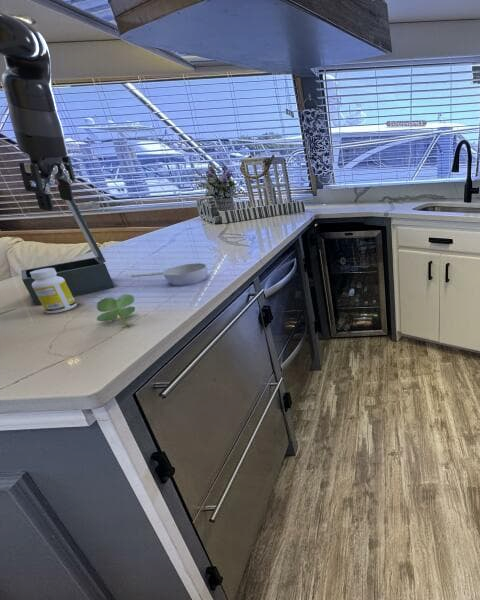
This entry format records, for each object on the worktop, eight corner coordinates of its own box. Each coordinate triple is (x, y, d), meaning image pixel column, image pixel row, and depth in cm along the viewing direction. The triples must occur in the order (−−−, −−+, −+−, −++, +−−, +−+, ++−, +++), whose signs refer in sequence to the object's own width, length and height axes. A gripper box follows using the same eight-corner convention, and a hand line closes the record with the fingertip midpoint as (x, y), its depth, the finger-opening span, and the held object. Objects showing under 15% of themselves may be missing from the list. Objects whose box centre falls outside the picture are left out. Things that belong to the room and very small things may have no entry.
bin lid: (69, 201, 80) (97, 196, 84) (64, 199, 88) (90, 195, 92) (102, 262, 87) (127, 256, 91) (94, 255, 95) (117, 250, 99)
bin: (35, 305, 80) (21, 279, 77) (33, 294, 88) (20, 270, 85) (114, 286, 91) (105, 263, 88) (106, 278, 98) (97, 256, 96)
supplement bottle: (69, 303, 80) (51, 265, 76) (82, 305, 78) (64, 267, 74) (41, 312, 76) (20, 272, 72) (53, 315, 74) (32, 275, 70)
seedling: (130, 343, 70) (117, 323, 72) (157, 317, 70) (143, 298, 72) (94, 339, 63) (81, 317, 65) (125, 311, 63) (111, 289, 65)
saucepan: (207, 282, 91) (203, 269, 89) (130, 294, 84) (125, 280, 83) (211, 272, 100) (207, 260, 98) (142, 282, 93) (137, 269, 92)
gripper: (36, 124, 74) (54, 194, 82) (-10, 128, 63) (16, 210, 70) (78, 132, 77) (92, 199, 85) (41, 138, 66) (61, 215, 73)
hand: (57, 204), depth 77 cm, fingers open, 8 cm apart
